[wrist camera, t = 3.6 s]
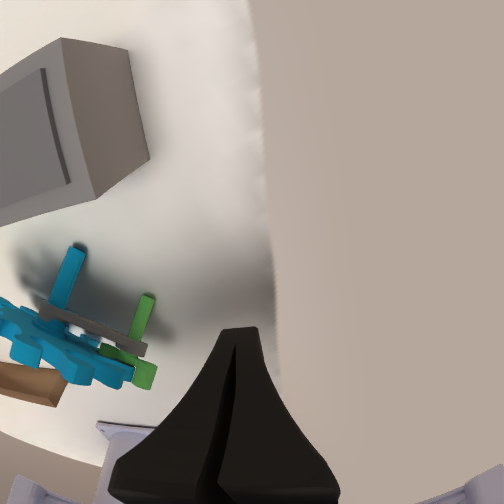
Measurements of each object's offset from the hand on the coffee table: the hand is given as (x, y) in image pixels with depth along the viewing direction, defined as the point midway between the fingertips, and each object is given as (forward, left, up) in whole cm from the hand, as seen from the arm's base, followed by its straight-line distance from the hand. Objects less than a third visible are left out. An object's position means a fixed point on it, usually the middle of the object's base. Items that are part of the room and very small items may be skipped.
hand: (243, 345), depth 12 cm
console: (+9, +7, -4) cm, 12 cm away
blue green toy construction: (0, +10, -4) cm, 11 cm away
